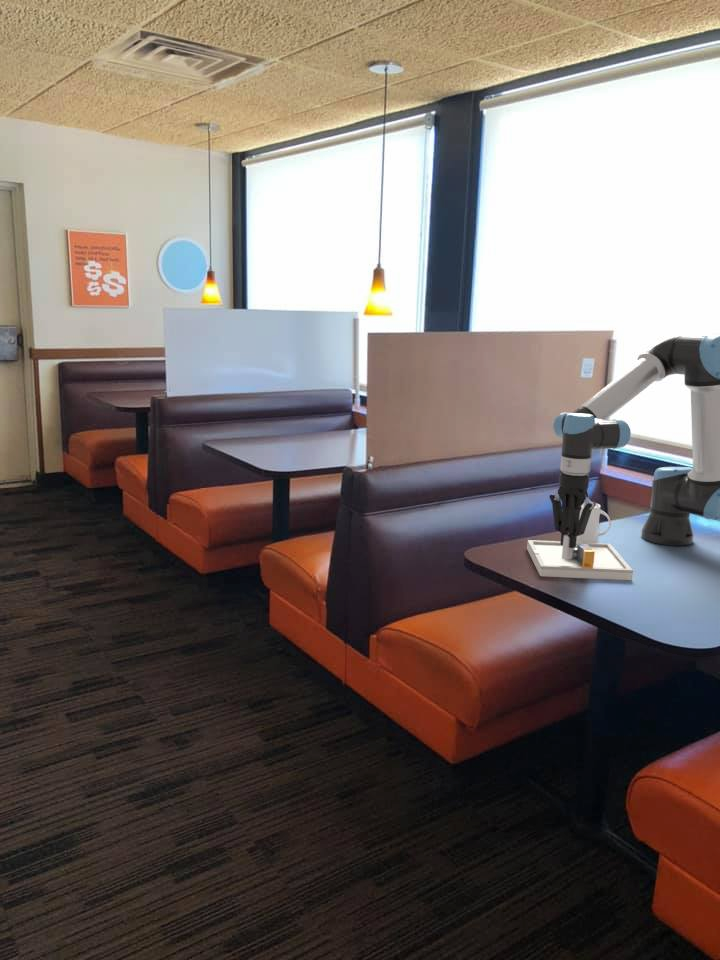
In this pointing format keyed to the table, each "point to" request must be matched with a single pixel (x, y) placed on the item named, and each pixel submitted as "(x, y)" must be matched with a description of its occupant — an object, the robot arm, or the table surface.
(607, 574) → the white square tray
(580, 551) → the dark grey handled piece
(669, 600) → the table surface
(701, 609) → the table surface
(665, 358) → the robot arm
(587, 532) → the mug
